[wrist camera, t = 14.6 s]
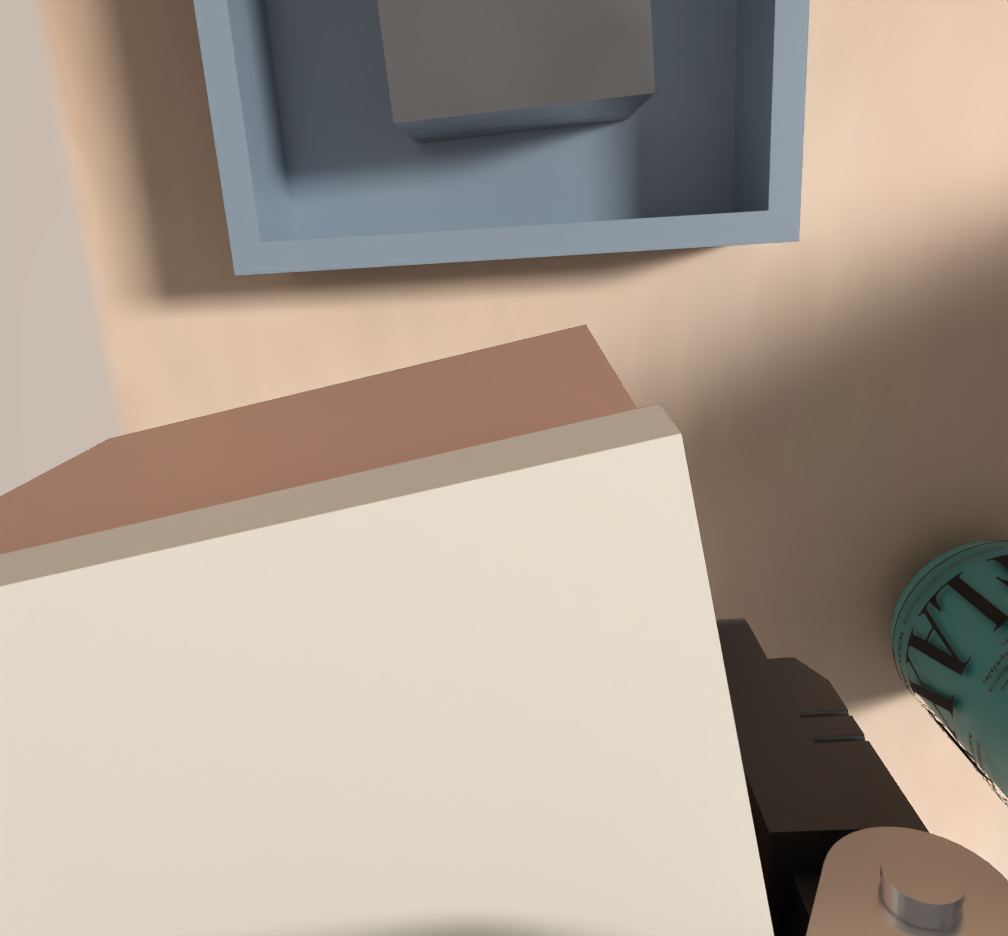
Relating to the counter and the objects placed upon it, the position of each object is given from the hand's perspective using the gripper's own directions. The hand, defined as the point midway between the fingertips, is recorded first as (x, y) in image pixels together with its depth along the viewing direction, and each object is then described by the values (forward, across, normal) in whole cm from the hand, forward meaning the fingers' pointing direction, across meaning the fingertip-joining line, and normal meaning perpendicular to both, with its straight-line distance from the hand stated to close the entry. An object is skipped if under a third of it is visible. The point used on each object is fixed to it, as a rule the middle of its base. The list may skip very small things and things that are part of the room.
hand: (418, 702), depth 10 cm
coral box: (+1, 0, 0) cm, 1 cm away
